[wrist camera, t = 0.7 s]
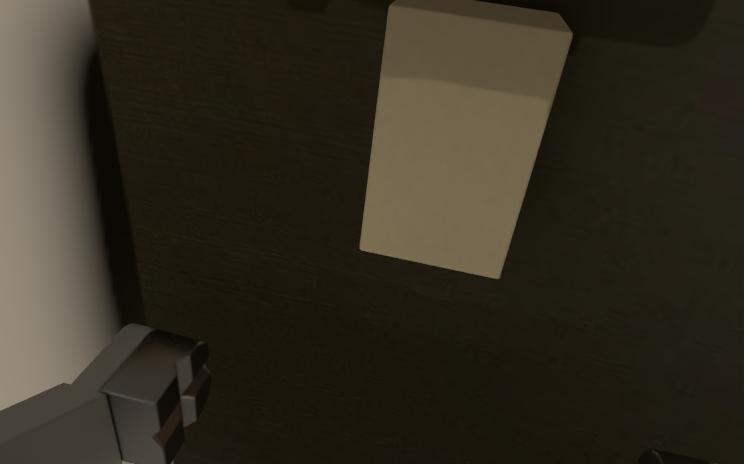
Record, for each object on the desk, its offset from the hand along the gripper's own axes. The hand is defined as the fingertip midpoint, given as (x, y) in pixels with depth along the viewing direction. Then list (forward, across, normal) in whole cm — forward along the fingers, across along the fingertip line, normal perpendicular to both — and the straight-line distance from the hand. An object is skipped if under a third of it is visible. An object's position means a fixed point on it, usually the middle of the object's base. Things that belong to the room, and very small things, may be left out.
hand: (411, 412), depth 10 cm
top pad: (+14, 0, -1) cm, 14 cm away
